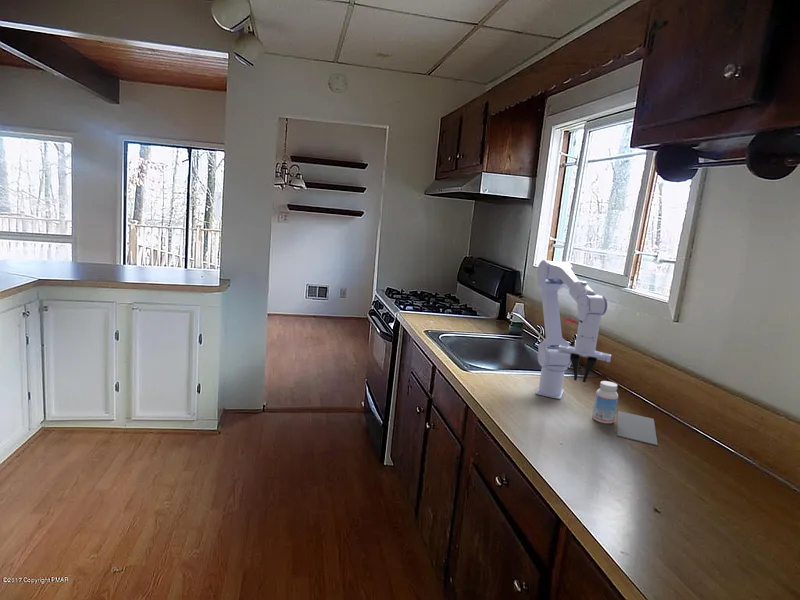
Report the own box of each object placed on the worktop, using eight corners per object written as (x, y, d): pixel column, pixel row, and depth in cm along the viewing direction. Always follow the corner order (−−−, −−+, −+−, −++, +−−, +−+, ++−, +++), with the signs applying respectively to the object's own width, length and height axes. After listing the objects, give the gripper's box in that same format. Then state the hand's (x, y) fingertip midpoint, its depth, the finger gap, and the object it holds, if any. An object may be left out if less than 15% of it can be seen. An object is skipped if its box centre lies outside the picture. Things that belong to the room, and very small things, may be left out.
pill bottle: (618, 424, 148) (625, 387, 146) (599, 424, 146) (606, 387, 144) (605, 415, 154) (611, 380, 152) (587, 415, 152) (593, 379, 150)
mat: (617, 411, 158) (618, 410, 157) (653, 419, 154) (653, 418, 154) (617, 436, 139) (617, 435, 139) (657, 445, 136) (657, 444, 136)
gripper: (559, 334, 148) (552, 378, 150) (613, 343, 142) (605, 389, 145) (562, 329, 154) (555, 372, 157) (614, 338, 149) (606, 382, 151)
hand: (579, 380), depth 151 cm, fingers closed
